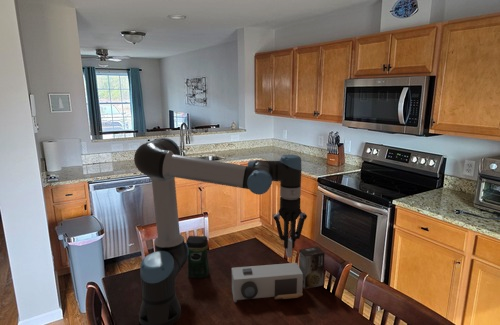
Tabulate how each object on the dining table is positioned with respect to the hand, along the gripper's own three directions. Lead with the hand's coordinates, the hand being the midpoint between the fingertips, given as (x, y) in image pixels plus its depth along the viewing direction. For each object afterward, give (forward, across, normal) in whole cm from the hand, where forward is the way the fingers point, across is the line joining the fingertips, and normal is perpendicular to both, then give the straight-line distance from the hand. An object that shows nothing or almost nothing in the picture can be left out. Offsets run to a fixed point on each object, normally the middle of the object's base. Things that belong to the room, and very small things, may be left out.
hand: (288, 255), depth 127 cm
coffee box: (+21, +13, +10) cm, 27 cm away
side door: (+19, 0, +3) cm, 19 cm away
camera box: (+20, -7, +8) cm, 23 cm away
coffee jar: (+21, -35, +26) cm, 48 cm away
